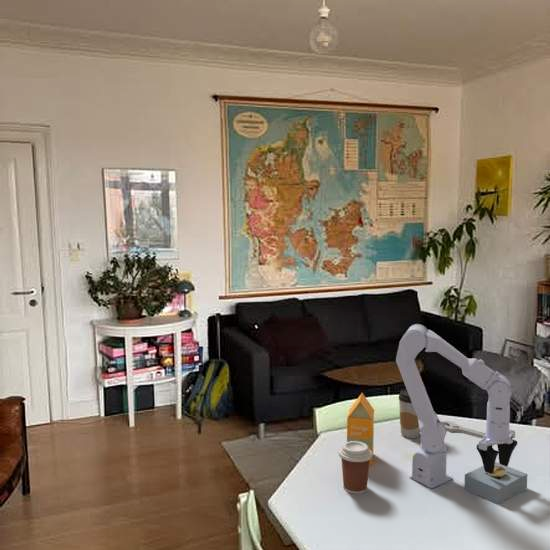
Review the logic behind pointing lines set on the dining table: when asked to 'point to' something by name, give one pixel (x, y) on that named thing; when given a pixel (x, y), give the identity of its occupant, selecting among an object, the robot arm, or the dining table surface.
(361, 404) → the orange juice
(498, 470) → the brass door knob
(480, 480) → the block
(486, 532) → the dining table surface
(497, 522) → the dining table surface
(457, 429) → the adjustable wrench
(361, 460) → the coffee cup
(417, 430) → the coffee cup
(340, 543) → the dining table surface
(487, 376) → the robot arm
